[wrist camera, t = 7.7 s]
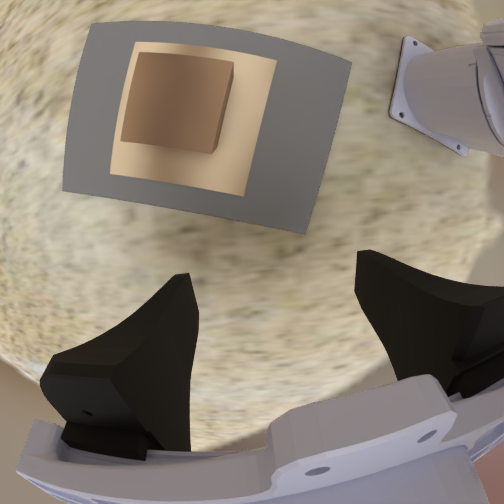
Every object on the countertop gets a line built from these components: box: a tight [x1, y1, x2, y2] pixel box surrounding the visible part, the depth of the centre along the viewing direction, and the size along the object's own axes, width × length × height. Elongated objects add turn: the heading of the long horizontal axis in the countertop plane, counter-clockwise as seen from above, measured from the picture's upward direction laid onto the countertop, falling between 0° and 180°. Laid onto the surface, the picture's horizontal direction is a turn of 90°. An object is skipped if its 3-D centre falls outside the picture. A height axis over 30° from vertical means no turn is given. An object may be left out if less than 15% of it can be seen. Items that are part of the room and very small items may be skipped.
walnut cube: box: [120, 52, 234, 154], centre depth 13 cm, size 4×4×4 cm
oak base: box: [110, 42, 277, 196], centre depth 16 cm, size 9×9×2 cm
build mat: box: [63, 21, 352, 234], centre depth 18 cm, size 20×14×1 cm
